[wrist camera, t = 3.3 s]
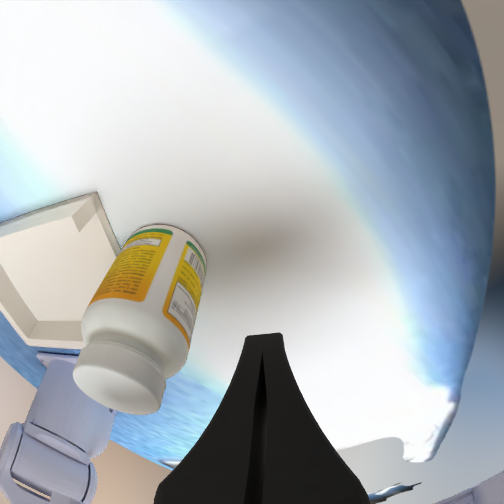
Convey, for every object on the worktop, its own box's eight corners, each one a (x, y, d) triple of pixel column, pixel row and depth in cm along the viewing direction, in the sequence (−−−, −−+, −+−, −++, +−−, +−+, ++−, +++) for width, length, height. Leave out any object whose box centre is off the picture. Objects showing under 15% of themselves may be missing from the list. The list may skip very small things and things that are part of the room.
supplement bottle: (223, 250, 18) (201, 398, 10) (184, 302, 21) (154, 430, 13) (143, 205, 16) (63, 335, 8) (115, 265, 19) (55, 386, 11)
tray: (155, 319, 22) (145, 350, 19) (40, 322, 23) (27, 345, 21) (96, 191, 16) (71, 216, 13) (-16, 229, 17) (-37, 250, 15)
